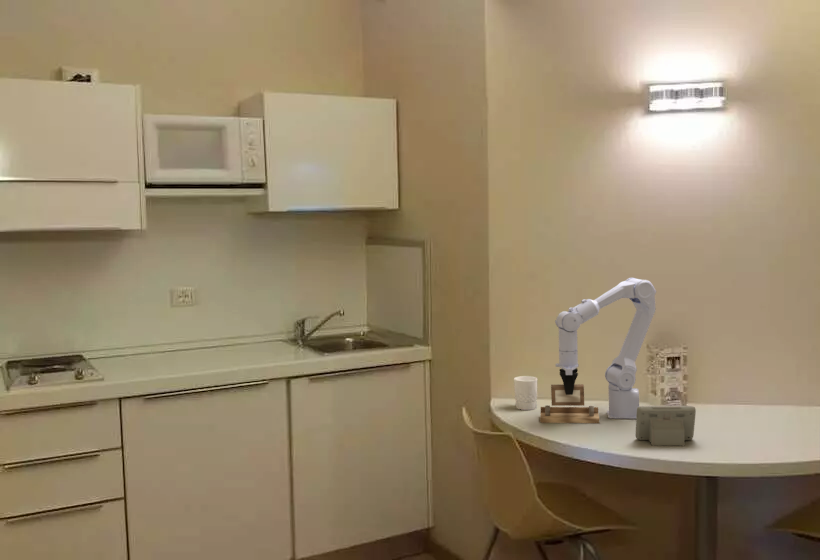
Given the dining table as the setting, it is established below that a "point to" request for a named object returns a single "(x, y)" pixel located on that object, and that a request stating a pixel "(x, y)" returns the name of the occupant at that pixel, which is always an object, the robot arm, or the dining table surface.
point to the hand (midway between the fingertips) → (569, 393)
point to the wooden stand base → (569, 414)
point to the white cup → (525, 392)
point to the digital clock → (665, 424)
